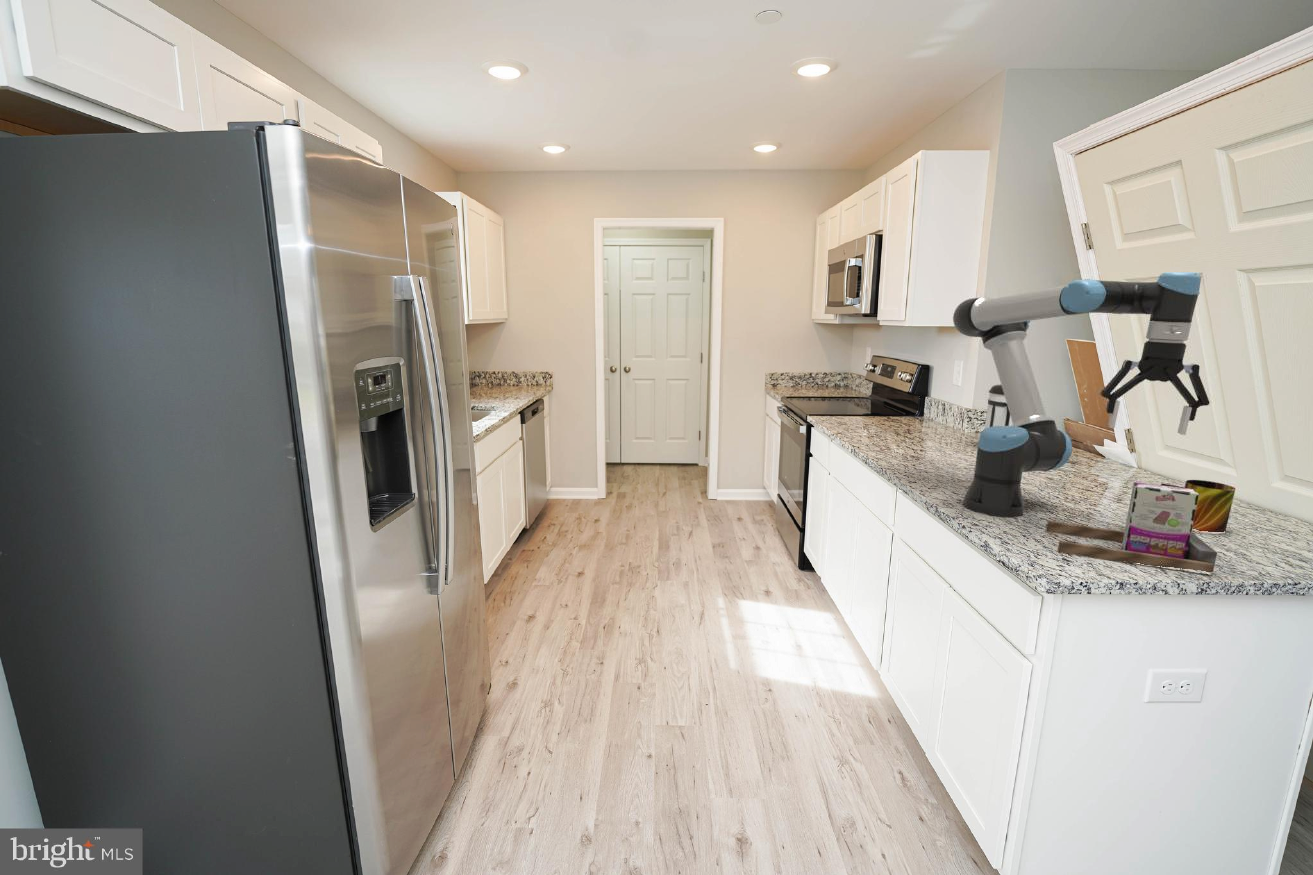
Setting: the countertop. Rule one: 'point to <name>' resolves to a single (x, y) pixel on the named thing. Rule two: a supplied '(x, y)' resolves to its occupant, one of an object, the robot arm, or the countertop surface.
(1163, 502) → the candy bar box
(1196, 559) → the guide channel
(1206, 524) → the mug
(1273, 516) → the countertop surface
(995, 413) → the coffee press
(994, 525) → the countertop surface
